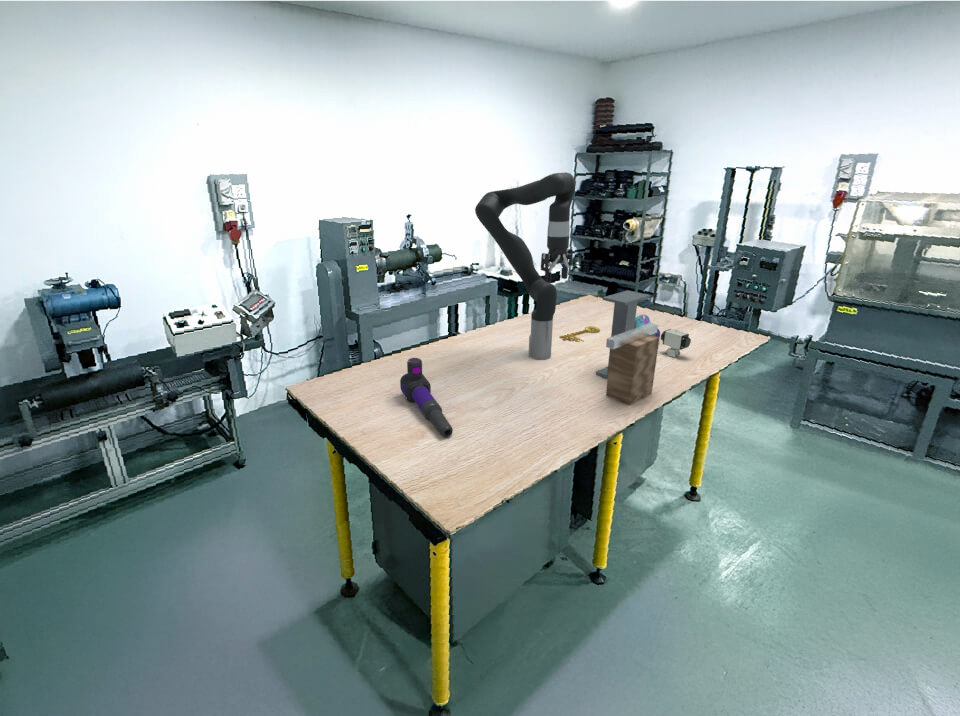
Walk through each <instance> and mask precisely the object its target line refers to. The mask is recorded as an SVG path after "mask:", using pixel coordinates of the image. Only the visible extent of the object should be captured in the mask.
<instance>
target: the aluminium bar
mask: <svg viewBox="0 0 960 716" xmlns="http://www.w3.org/2000/svg"><path fill="white" fill-rule="evenodd" d="M658 326H659V324H657V323H652V322H651V323H648V324H646V325H643V326H640V327H637V328H635V329H632V330H629V331H626V332H624V333H621V334H618V335H615V336H613V337H611V336H610V337H608V338H606V343H605V347H606V348H608V349H609V350H610V349H616V348H619V347H621V346H624V345H626V344H629V343H631V342H634V341H637V340H639V339H642V338H644V337H647V336H649V335H652V334H655V333H657V328H658V329H659V327H658Z"/></svg>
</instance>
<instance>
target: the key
mask: <svg viewBox="0 0 960 716" xmlns="http://www.w3.org/2000/svg"><path fill="white" fill-rule="evenodd" d="M600 329H601V328H600V327H598V326H594V325H589V326H586V327H584V329H583V330H579V331H576V332H571V333H570V334H569V333H568V334H564V335H559V339H562V341H565V342H566V341H569V342H575V343H580V342H582V343H583V342H585V339H581V338H580V337H578V336H579V335H583V334H586V333H589V334H598V333H600V332H601V330H600Z"/></svg>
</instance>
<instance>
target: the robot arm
mask: <svg viewBox="0 0 960 716" xmlns="http://www.w3.org/2000/svg"><path fill="white" fill-rule="evenodd" d="M575 191H576V182H575V178H574V176H573V175H572V174H571V172H570V173H569V172H555V173H551V174H549V175H546V176H545V177H542V178H540V179H538V180H535V181H532V182H530V183H526V184H523V185H520V186H517V187H516V186H515V187H513V188H507V189H501V190H494V191H489V192H486V193H485V194H484V195H483V196H482V197H481V199H480V200H479V201H478V203H477V204H476V206H475V208H474V212H475V215H476V217H477V219H478V221H479V222H480V223H481V224H482V225H483V227H484V229H486V231H487V232H488V234H490V236H491V237H492V238H493V240H494V241H495V242H496V244H497V245H498V247H499V248H500V250H501V251H502V253H503V254H504V257H505V258H506V259H507V261H508V263H509V264H510V265H511V266H512V268H513V270H514V271H515V272H516V273H517V275H518V276H519V278H520V279H521V280H522V282H523V283H522V284H523V285H524V286H525V289H526V291H527V293H528V294H529V295H528V296H529V297H530V298H531V299H532V300H533V301H535V302H536V308H535V309H534V310H532V312H531V317H530V318H531V319H530V335H529V337H528V339H529V340H528V357H529V358H532V359H535V360H542V361H543V360H548V359H550V358H551V357H552V345H553V343H552V341H553V325H554V323H553V322H554V319H553V318H554V315H555V314H556V313H555V312H556V309H557V308H556V307H557V301H558V300H557V299H558V292H557V287H556V286H555V285H554V284H553V283H552V273H553V272H552V271H553V269H554V268H555V266H556V265H559V264H560V265H561V274H560V276H561V277H560V278H561V279H565V280H567V279H568V275H569V274H568V273H569V268H570V267H573V263H574V261H573V260H574V259H573V258H574V255H573V253H574V251H573V249H572V248H569V247H570V232H571V231H570V230H571V229H570V227H571V226H570V219H571V218H570V217H571V216H570V215H571V213H570V212H571V206H572V203H573V198H574V196H575V195H574V194H575ZM552 197H555V200H554V201H553V202H552V203H551V204H550V205H549V209H548V223H547V234H546V235H547V236H546V237H547V240H546V247H547V249H548V252H547V253H543V252H542V253H541V257H540V259H541V260H540V271H543V272H544V278H543V277H541V275H540V274H539V272H538V271H537V269H536V268H535V264H534V259H533V255H532V253H531V251H530V249H529V247H528V245H527V243H526V242H525V241H524V240H523V239H522V238H521V237H520V236H518V235H517V234H515V233H513V232H511V231H509V230H507V228H506V227H505V225H504V224H503V223H502V221H501V220H500V216H501V214H502V213H503V211H504V210H505V209H507V208H509V207H511V206H513V205H521V206H529V205H534V204H536V203H541V202H543V201H546V200H547V199H548V198H549V199H550V198H552Z"/></svg>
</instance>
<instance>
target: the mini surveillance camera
mask: <svg viewBox="0 0 960 716" xmlns="http://www.w3.org/2000/svg"><path fill="white" fill-rule="evenodd" d="M660 340H661V342H662V345H664V346H666V347H668V348H667V349H666V353H667V354H666V355H667V356H668V357H671V358H673V359H674V358H676V357H680V355H681V351H682V350H684V349H687V348H689V346H690V345H691V343H692V339H691V338H690V334H689V333H687V332H684V331H680V330H679V329H672V328H669V329H666V330H664V331H662V333H660Z"/></svg>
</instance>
